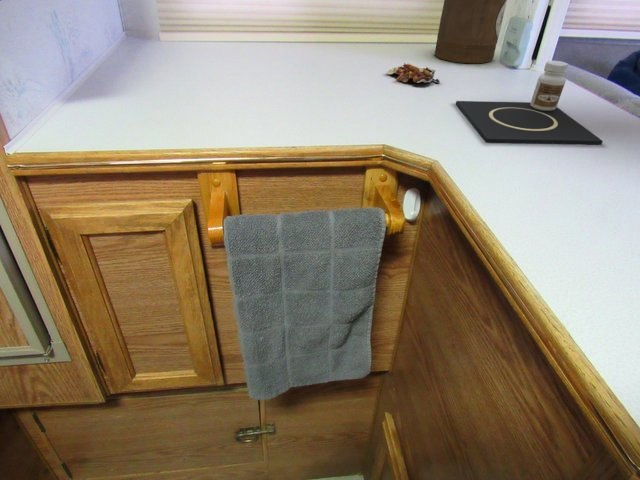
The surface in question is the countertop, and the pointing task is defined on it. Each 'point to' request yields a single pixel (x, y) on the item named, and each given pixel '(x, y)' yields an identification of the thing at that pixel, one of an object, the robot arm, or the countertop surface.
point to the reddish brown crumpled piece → (413, 73)
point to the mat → (524, 124)
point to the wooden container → (469, 30)
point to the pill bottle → (549, 86)
